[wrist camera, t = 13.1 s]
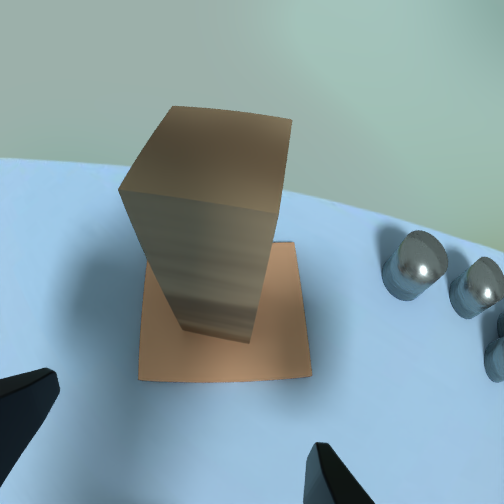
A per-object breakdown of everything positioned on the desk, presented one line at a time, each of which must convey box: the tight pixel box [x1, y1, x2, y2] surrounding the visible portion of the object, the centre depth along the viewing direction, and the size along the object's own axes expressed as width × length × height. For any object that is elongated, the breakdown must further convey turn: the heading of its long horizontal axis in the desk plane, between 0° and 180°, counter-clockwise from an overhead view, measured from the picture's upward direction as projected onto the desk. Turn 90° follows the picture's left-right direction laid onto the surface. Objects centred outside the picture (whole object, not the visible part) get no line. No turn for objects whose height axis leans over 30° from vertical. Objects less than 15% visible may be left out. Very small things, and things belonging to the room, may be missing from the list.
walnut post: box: [118, 106, 292, 344], centre depth 14 cm, size 4×4×13 cm
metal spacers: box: [382, 230, 504, 383], centre depth 19 cm, size 8×18×4 cm, turn 48°
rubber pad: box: [138, 242, 312, 383], centre depth 20 cm, size 11×10×1 cm
